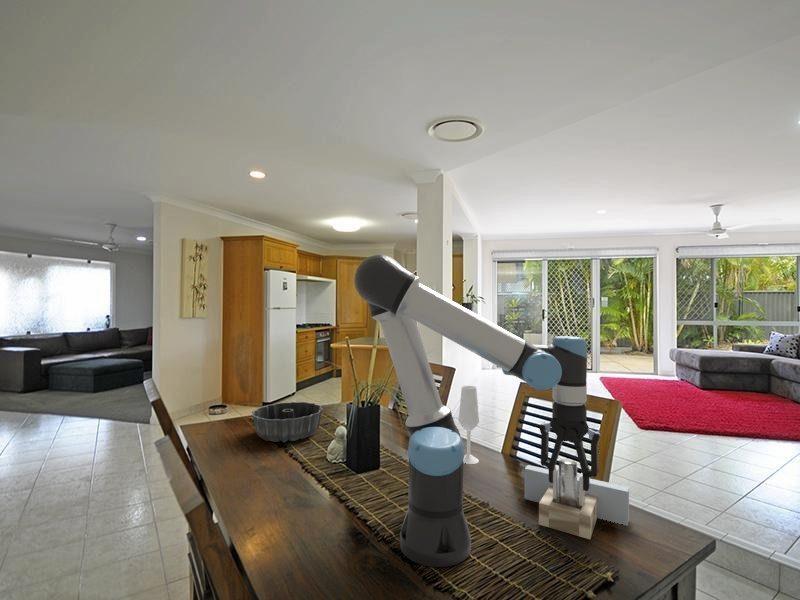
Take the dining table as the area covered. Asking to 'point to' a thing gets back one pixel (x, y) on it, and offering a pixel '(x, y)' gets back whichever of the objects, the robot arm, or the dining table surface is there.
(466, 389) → the champagne flute
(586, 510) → the square wooden frame
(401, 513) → the dining table surface
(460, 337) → the robot arm
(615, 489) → the wall
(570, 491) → the metal peg
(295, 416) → the bundt pan
